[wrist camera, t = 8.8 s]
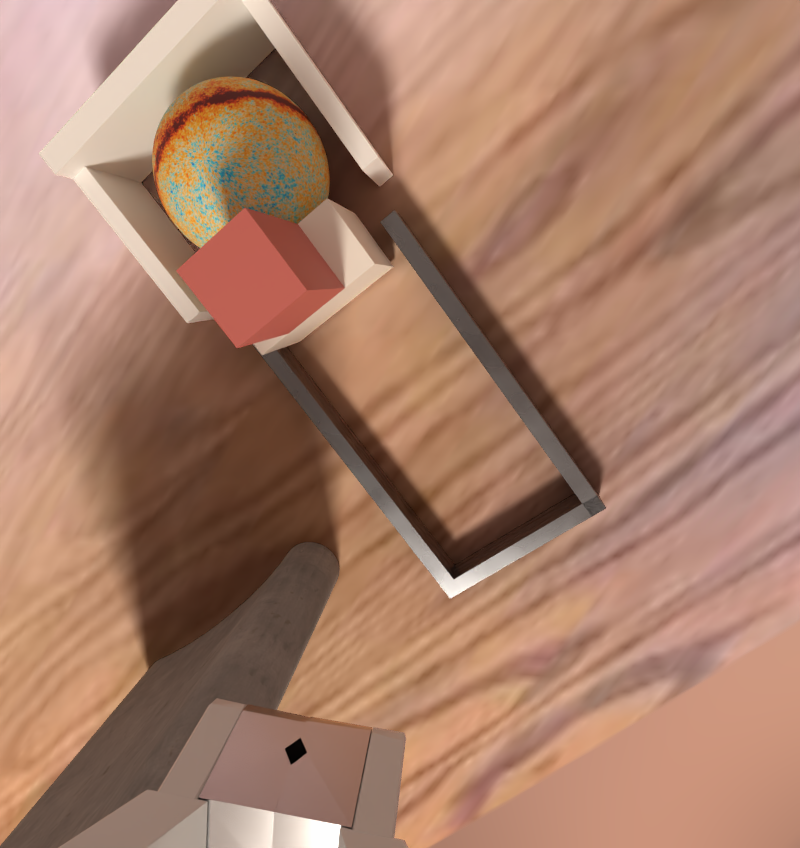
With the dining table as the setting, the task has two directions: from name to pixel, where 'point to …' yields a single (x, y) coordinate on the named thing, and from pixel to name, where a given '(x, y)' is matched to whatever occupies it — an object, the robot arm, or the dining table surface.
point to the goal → (148, 101)
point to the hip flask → (187, 699)
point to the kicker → (283, 273)
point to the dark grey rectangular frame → (385, 492)
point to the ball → (236, 157)
